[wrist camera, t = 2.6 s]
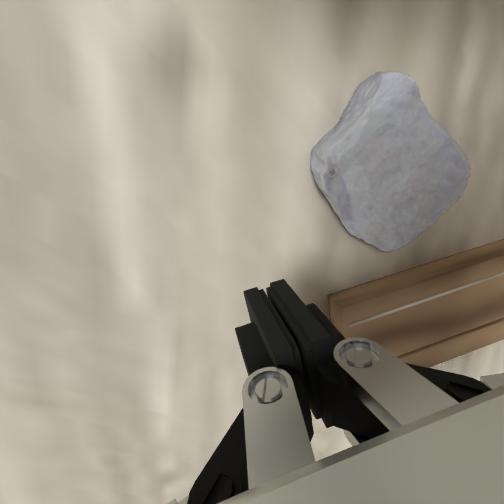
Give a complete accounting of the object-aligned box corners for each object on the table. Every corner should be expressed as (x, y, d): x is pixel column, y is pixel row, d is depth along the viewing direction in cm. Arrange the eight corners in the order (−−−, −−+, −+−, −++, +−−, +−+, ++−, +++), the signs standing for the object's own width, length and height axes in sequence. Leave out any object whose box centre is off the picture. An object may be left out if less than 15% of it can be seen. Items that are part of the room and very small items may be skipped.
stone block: (365, 245, 29) (451, 168, 26) (388, 270, 25) (495, 181, 21) (280, 167, 25) (372, 63, 21) (292, 181, 20) (408, 54, 17)
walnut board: (327, 295, 27) (341, 309, 25) (590, 211, 32) (623, 216, 30) (337, 379, 32) (350, 398, 29) (567, 294, 36) (594, 305, 34)
